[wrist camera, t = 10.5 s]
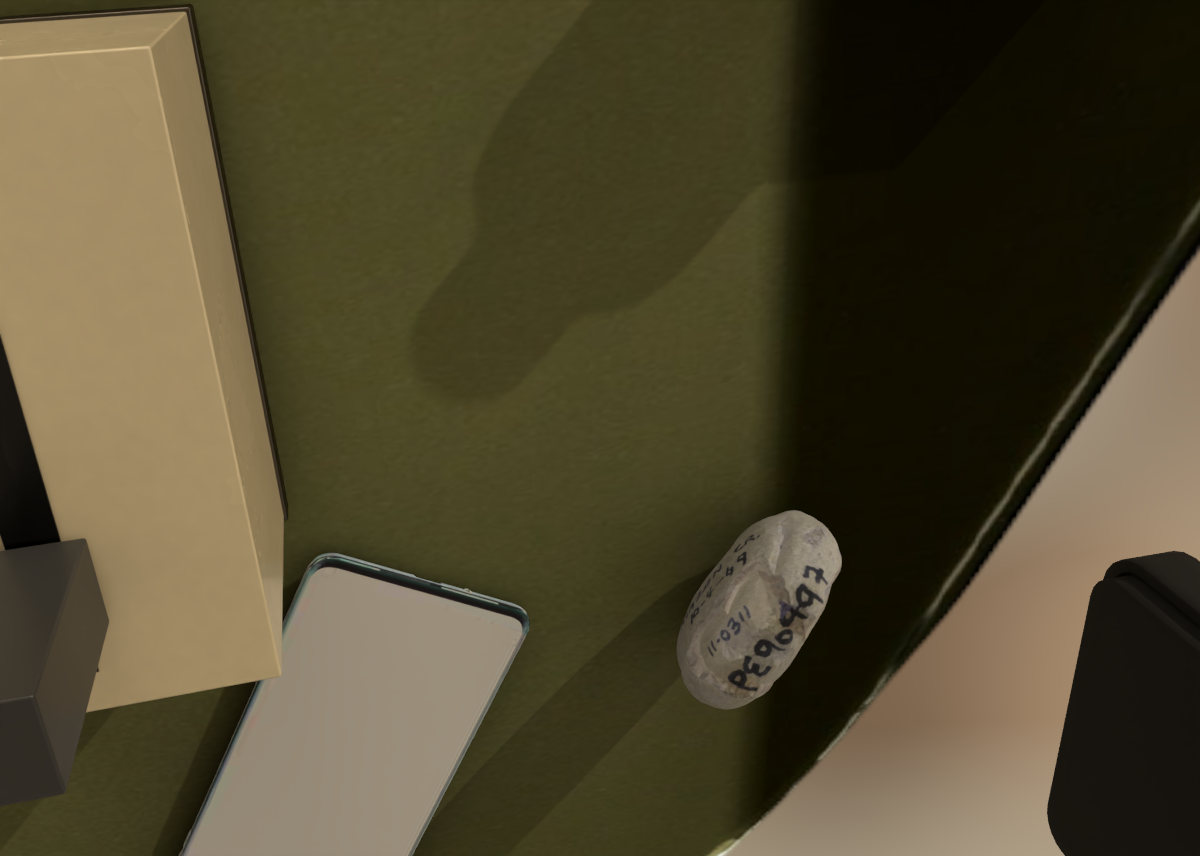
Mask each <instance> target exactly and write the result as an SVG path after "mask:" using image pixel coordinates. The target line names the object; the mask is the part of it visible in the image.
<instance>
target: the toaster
mask: <svg viewBox="0 0 1200 856" xmlns="http://www.w3.org/2000/svg"><path fill="white" fill-rule="evenodd" d="M287 519H288V503H287V498H286V492H285V487H284V482H283V476H282V471H281V466H280V461H279V455H278V450H277V445H276V440H275V434H274V429H273V424H272V419H271V413H270V408H269V403H268V398H267V392H266V387H265V382H264V377H263V371H262V366H261V361H260V355H259V350H258V345H257V340H256V334H255V329H254V324H253V319H252V313H251V308H250V303H249V298H248V292H247V287H246V282H245V277H244V271H243V266H242V261H241V255H240V250H239V245H238V240H237V234H236V229H235V224H234V219H233V213H232V208H231V203H230V198H229V192H228V187H227V182H226V177H225V171H224V166H223V161H222V156H221V150H220V145H219V140H218V134H217V129H216V124H215V119H214V113H213V108H212V103H211V98H210V92H209V87H208V82H207V77H206V71H205V66H204V61H203V56H202V50H201V45H200V40H199V34H198V29H197V24H196V19H195V13H194V8H193V6H192V5H191V4H185V5H170V6H155V7H140V8H125V9H110V10H95V11H80V12H65V13H50V14H35V15H20V16H5V17H0V551H4V550H11V549H17V548H24V547H30V546H37V545H43V544H49V543H56V542H62V541H69V540H75V539H82V538H85V539H86V541H87V544H88V548H89V551H90V555H91V558H92V562H93V565H94V569H95V572H96V576H97V580H98V583H99V587H100V590H101V594H102V597H103V601H104V604H105V608H106V611H107V615H108V618H109V625H108V629H107V633H106V637H105V640H104V644H103V648H102V652H101V656H100V660H99V664H98V668H97V672H96V675H95V679H94V683H93V687H92V691H91V695H90V699H89V703H88V707H87V711H86V712H91V711H96V710H102V709H107V708H113V707H118V706H124V705H129V704H134V703H140V702H145V701H151V700H156V699H162V698H167V697H172V696H178V695H183V694H189V693H194V692H200V691H205V690H210V689H216V688H221V687H227V686H232V685H238V684H243V683H248V682H254V681H259V680H265V679H270V678H276V677H280V676H281V674H282V606H283V533H284V520H287Z"/></svg>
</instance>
